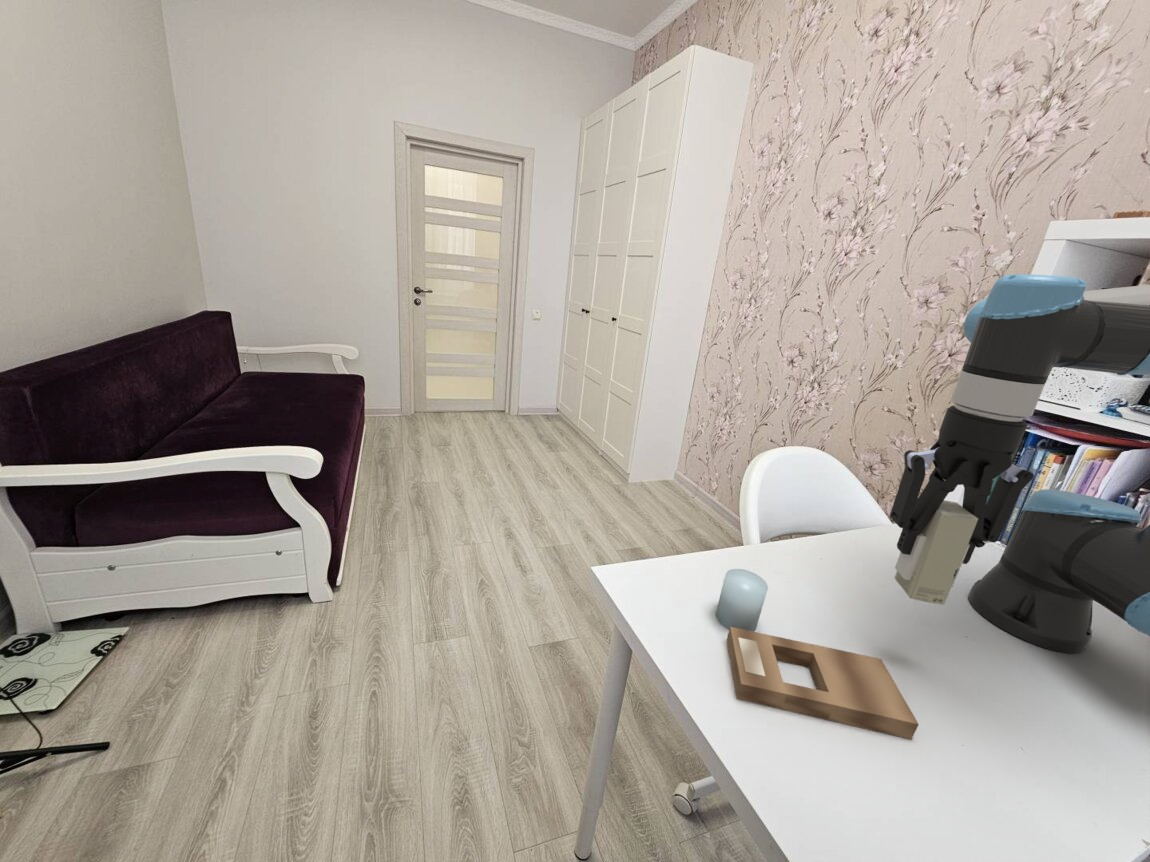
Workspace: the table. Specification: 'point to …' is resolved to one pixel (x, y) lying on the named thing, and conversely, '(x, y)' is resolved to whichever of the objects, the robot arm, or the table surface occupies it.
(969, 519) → the box
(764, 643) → the brown flat wooden slab
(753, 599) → the pale blue capsule
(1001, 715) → the table surface
